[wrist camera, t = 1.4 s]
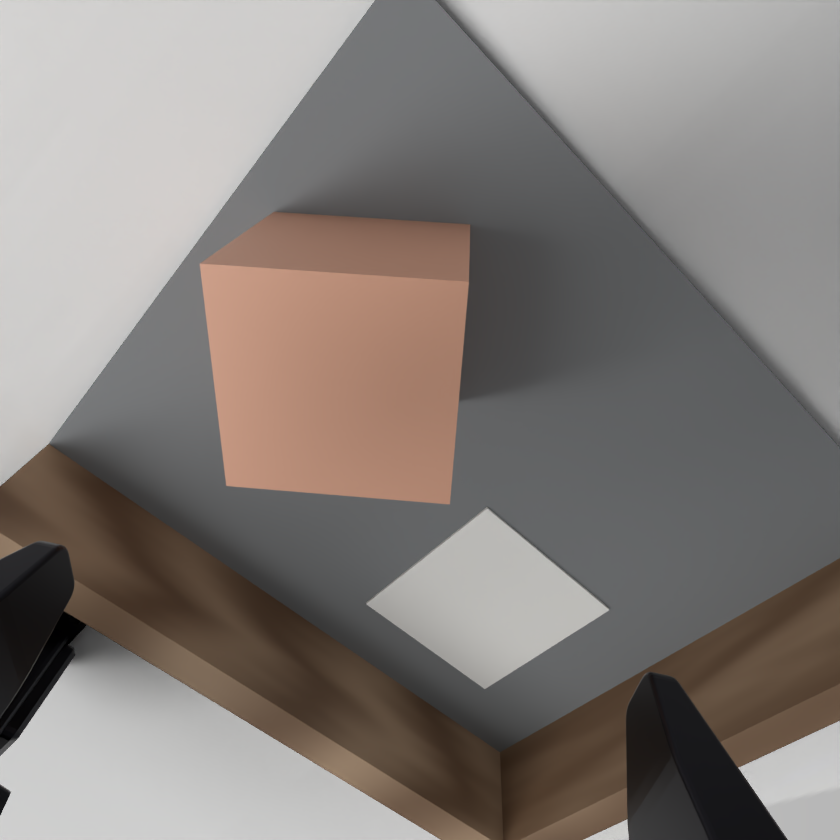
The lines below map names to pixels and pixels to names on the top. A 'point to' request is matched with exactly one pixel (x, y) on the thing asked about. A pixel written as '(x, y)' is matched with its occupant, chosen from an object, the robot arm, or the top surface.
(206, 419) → the mat
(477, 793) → the corner walls
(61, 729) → the top surface
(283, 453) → the cube
